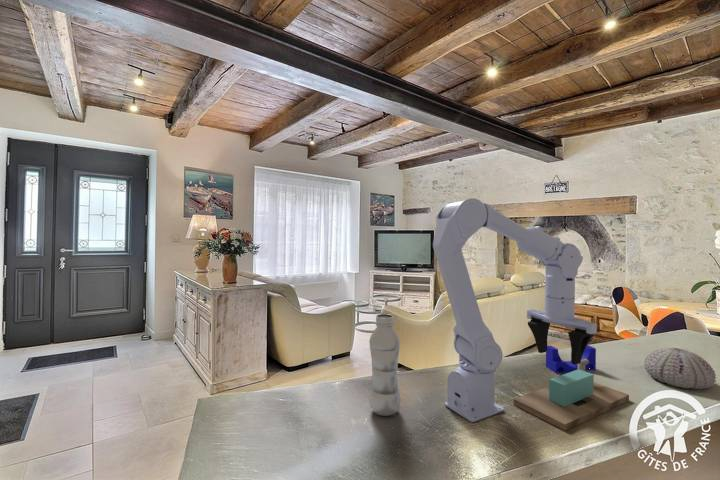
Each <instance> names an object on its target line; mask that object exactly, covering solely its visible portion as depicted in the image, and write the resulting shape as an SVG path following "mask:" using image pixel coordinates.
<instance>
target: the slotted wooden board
mask: <svg viewBox="0 0 720 480" xmlns="http://www.w3.org/2000/svg"><path fill="white" fill-rule="evenodd" d="M586 364H589V360H588V359H584V360H581V363H580V364H578V369H579V370H582V371H585V372H586V370H585V365H586ZM580 401H584V402H586V403H583V404H581V405H575V404H574V403H572V404H569V405H567V406H565V407H563V406H561V405H559V404H557V403H555V402H552V401H550V400H549V386H547V387H543V388H540V389H538V390H535V391H533V392H530V393H527V394H524V395H521V396H518V397H516V398H513V406H516V407H518V408H520V409H522V410H523V411H525V412H527V413H529V414H531V415H533V416H535V417H537V418H540V419H541V420H543V421H545V422H547V423H549V424H551V425H552V426H555V427H557V428H558V429H561V430H563V431H567V430H570V429H572V428H574V427H576V426H578V425H581V424H583V423H585V422H586V421H588V420H590V419H592V418H595V417H596V416H599V415H601V414H603V413H605V412H607V411H610V410H611V409H614V408H616V407H618V406H619V405H621V404H624V403H626V402H629V401H630V394H627V393H624V392H623V391H619V390H616V389H613V388H611V387H609V386H605V385H603V384H599V383H597V382H594V383H593V395H591V396H589V397H586V398H584V399H581V400H580Z"/></svg>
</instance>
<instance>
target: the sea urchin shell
mask: <svg viewBox="0 0 720 480" xmlns="http://www.w3.org/2000/svg"><path fill="white" fill-rule="evenodd" d="M643 365H644V369H645V370H646V373H647V374H648V375H649V376H650V377H651V378H653V379H654V380H657V381H658V382H661V383H664V384H667V385H669V386H673V387H677V388H680V389H681V388H683V389H686V390H687V389H692V390H702V389H703V390H705V389H709V388H711V387H712V386H715V383H716V382H717V380H716V379H717V377H716V376H717V375H716V371H715V370H714V369H713V367H712V366H711V364H710V363H708V362H707V361H706V360H705V359H704V358H703V357H702V356H700V355H698V354H697V353H695V352H692V351H689V350H686V349H683V348H680V347H679V348H678V347H663V348H658V349H656V350H654V351H652V352H650V353H649V354H648V355H646V357H645V358H644V364H643Z"/></svg>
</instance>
